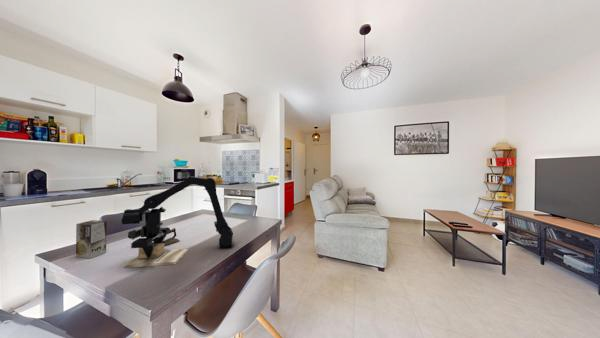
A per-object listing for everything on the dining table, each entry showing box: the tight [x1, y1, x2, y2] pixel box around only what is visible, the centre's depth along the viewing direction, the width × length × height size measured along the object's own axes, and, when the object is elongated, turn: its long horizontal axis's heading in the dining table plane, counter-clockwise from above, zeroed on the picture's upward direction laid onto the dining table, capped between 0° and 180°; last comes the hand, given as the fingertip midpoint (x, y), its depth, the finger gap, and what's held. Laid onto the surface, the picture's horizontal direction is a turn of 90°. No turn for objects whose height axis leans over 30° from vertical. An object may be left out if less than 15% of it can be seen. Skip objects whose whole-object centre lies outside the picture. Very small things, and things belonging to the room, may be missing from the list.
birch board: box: [123, 248, 189, 269], centre depth 84 cm, size 20×13×1 cm, turn 101°
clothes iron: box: [162, 227, 181, 248], centre depth 99 cm, size 7×11×10 cm, turn 164°
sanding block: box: [137, 243, 165, 260], centre depth 83 cm, size 8×5×5 cm, turn 101°
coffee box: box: [75, 219, 108, 259], centre depth 86 cm, size 9×6×16 cm
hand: (152, 254), depth 83 cm, fingers open, 5 cm apart
